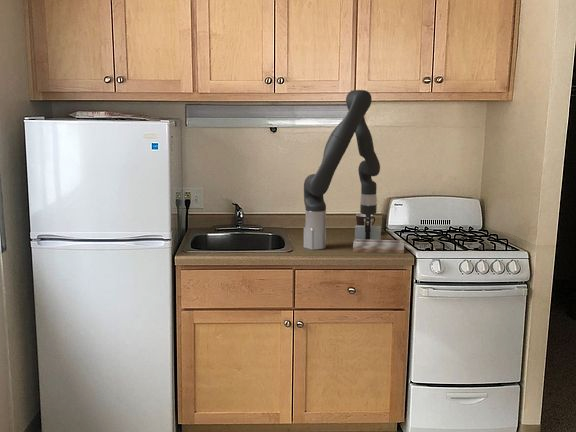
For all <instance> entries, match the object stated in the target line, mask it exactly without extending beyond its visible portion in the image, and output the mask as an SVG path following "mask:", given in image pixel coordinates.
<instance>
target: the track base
mask: <svg viewBox="0 0 576 432" xmlns="http://www.w3.org/2000/svg"><path fill="white" fill-rule="evenodd" d="M352 243H353V244H352V252H353V253H354V252H355V253H356V252H357V253H379V254H382V253H383V254H405V241H404V240H395V239H394V240H393V239H390V240H389V239H381V240H368V239H355V238H354V239H353V242H352Z"/></svg>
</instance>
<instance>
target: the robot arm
mask: <svg viewBox="0 0 576 432" xmlns="http://www.w3.org/2000/svg"><path fill="white" fill-rule="evenodd" d="M345 103H346V107H347V111H348V112H347V113H346V115H345V117H344V118H343V119H342V120H341V121H340V122H339V123H338V124H337V125H336V127H335V128H334V129H333V130H332V132H331V133H330V135H329V137H328V140H327V141H326V144H325V147H324V150H323V155H322V161H321V163H320V166H319V167H318V169H317V171H316V173H313V174H309V175H308V176H306V178H305V179H304V183H303V201H304V206H305V218H304V220H305V226H303V248H304V249H307V250H312V251H313V250H324V249H326V248H327V247H326V246H327V245H326V243H327V242H326V241H327V234H326V233H327V227H326V226H327V205H326V202H325V200H324V195H325V194H326V192H328V190H329V187H330V184H331V183H332V180H333V177H334V175H335V172H336V170H337V169H338V166H339V164H340V163H341V160H342V158H343V156H344V155H345V153H346V151H347V149H348V147H349V145H350V143H351V141H352V138H353V137H354V134H355V138H356V143H357V150H358V154H359V156H360V157H362V158H363V159H364V160H362V161H361V162H360V163H359V166H358V169H357V170H358V176H359V181H360V185H361V186H360V187H361V188H360V190H361V191H360V211H359V214H365V215H366V217H364V227H365V239H368V240H370V232H371V231H370V230H371V227H372V226H373V225H372V223H373V221H374V218H373V217H371V215H376V214H377V213H378V212H377V205H378V204H377V203H378V202H377V201H378V198H377V182H375V181H374V180H373V179H372V178H373V177H377V176H378V175H379V174H380V171H381V164H380V160H379V158H378V156H377V153H376V151H375V148H374V146H375V145H374V140H373V135H372V134H371V131H370V129H369V127H368V124H367V122H366V120H365V115H366V113H367V112H368V111H369V109H370V107H371V104H372V94H371V93H370V91H368V90H365V89H353V90H350V91H349V92H348V93H347V95H346V97H345ZM372 220H373V221H372ZM366 228H369V230H366Z"/></svg>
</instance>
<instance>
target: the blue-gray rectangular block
mask: <svg viewBox="0 0 576 432" xmlns="http://www.w3.org/2000/svg"><path fill="white" fill-rule="evenodd" d="M366 230H369V228H366ZM370 231H371V232H370V240H382V235H381V234H382V226H381V225H372V227H371V230H370ZM354 239H365V227H364V226H358V225H357V224H356V225H355V226H354Z"/></svg>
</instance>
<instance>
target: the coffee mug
mask: <svg viewBox="0 0 576 432" xmlns="http://www.w3.org/2000/svg"><path fill="white" fill-rule="evenodd" d="M364 217H366V215H365V214H361V213H357V214H355V218H356V225H358V226H364ZM371 217H373V220H372V226H374V224H375V222H376V217H375V216H374V214H371Z"/></svg>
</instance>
